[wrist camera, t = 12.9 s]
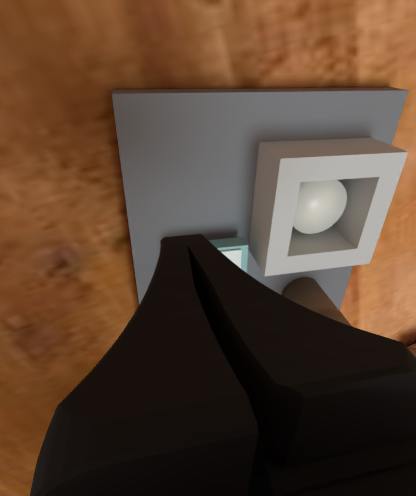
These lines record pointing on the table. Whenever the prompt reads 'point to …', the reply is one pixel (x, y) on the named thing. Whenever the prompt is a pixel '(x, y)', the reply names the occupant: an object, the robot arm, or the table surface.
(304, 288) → the dowel
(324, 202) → the cream smooth round part
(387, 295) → the table surface
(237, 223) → the panel
